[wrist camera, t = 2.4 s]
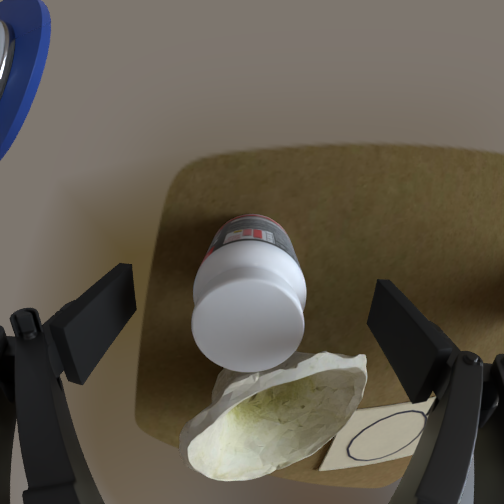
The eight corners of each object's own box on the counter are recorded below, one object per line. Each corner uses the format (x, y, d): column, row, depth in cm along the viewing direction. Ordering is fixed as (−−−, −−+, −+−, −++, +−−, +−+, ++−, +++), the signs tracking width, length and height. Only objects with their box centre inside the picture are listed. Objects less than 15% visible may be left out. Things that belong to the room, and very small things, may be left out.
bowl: (320, 425, 27) (334, 500, 17) (191, 408, 26) (174, 488, 17) (380, 313, 22) (434, 394, 13) (213, 281, 22) (186, 370, 12)
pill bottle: (207, 216, 20) (165, 269, 11) (288, 209, 20) (318, 256, 10) (217, 291, 22) (194, 382, 12) (293, 285, 22) (316, 374, 12)
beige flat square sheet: (346, 410, 26) (346, 412, 26) (456, 391, 26) (457, 393, 26) (318, 469, 31) (318, 471, 30) (414, 452, 31) (415, 454, 30)
